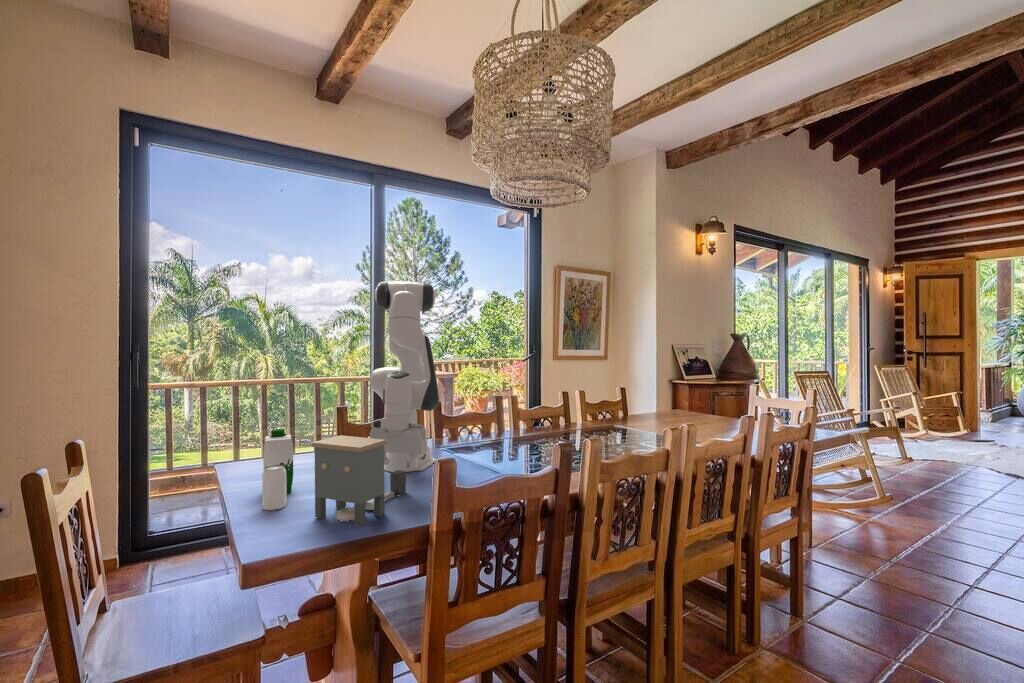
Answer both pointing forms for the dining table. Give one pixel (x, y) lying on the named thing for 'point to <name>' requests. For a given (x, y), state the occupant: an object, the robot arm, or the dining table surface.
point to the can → (274, 487)
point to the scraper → (392, 487)
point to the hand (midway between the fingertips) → (397, 466)
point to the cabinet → (349, 474)
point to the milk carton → (279, 453)
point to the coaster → (346, 514)
